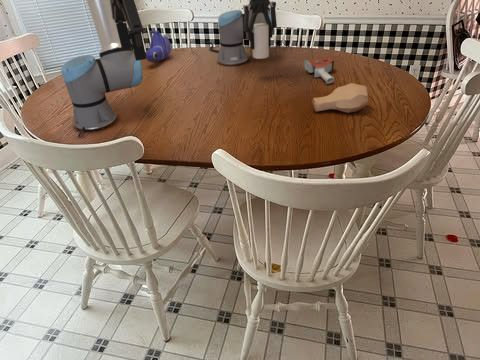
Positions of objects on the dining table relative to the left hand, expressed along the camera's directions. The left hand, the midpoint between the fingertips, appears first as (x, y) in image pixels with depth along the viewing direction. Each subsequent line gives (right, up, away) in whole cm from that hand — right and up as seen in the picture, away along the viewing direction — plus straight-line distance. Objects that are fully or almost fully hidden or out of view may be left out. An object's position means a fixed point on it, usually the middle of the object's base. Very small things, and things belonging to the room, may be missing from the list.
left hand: (133, 53), depth 97 cm
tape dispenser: (+65, +13, +64) cm, 92 cm away
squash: (+66, -8, +35) cm, 75 cm away
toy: (-14, +28, +92) cm, 97 cm away
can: (+38, +20, +59) cm, 73 cm away
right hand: (+38, +23, +56) cm, 72 cm away
